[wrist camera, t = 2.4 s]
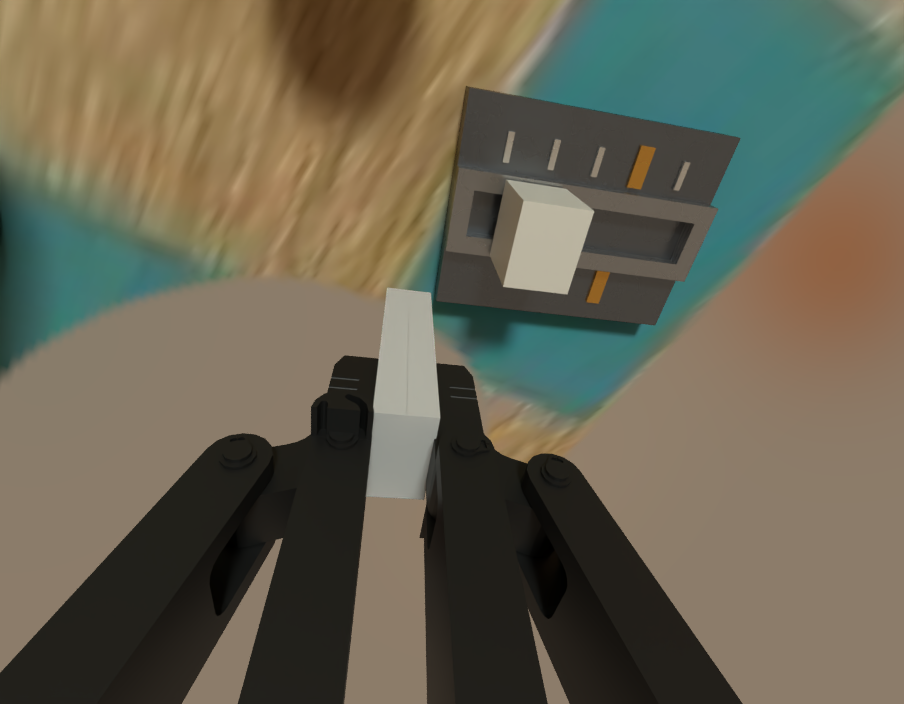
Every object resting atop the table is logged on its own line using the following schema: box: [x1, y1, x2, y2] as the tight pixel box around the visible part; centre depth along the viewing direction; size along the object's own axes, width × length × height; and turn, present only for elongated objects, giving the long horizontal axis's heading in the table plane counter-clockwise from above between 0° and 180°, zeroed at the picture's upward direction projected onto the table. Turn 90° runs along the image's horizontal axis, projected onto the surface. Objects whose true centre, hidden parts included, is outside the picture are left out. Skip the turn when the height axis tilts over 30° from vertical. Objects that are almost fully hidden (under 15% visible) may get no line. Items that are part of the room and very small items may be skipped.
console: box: [435, 86, 740, 325], centre depth 32 cm, size 18×14×3 cm
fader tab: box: [490, 180, 594, 294], centre depth 28 cm, size 4×5×6 cm
